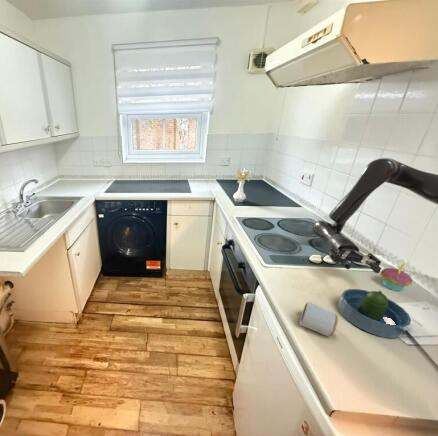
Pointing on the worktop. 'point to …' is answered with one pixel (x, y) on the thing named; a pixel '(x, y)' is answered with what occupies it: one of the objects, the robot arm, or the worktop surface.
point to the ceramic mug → (319, 319)
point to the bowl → (349, 310)
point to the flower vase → (241, 184)
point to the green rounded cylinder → (374, 305)
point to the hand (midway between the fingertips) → (363, 269)
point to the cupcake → (395, 278)
